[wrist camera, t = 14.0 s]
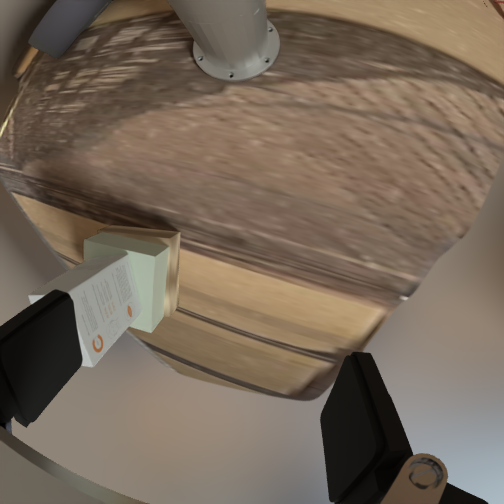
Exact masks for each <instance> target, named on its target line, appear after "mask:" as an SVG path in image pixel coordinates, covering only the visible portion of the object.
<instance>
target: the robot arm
mask: <svg viewBox="0 0 504 504" xmlns="http://www.w3.org/2000/svg"><path fill="white" fill-rule="evenodd" d="M167 1H168V3H169V4H170V6H171V7H172V8H173V10H174V11H175V12H176V14H177V16H178V17H179V18H180V20H181V21H182V23H183V24H184V26H185V27H186V28H187V30H188V31H189V33H190V34H191V36H192V37H193V39H194V43H193V55H194V58H195V60H196V63H197V64H198V65H199V67H200V68H201V69H202V70H203V71H204V72H205V73H206V74H208V75H209V76H211V77H213V78H215V79H218V80H222V81H229V82H237V81H244V80H249V79H252V78H254V77H257V76H259V75H260V74H262V73H264V72H265V71H266V70H267V69H268V68H270V67H271V65H272V64H273V63H274V61H275V60H276V58H277V56H278V53H279V48H280V40H279V35H278V32H277V30H276V28H275V27H274V26H273V24H272V23H271V22H270V21H268V20H267V12H266V0H167ZM269 31H272V32H269ZM201 59H203V60H202V61H200V60H201ZM266 61H269V63H266ZM230 76H233V77H232V78H230ZM82 361H83V357H82V352H81V347H80V342H79V336H78V330H77V323H76V316H75V309H74V302H73V299H71V296H70V294H69V293H67V292H63V291H61V290H58V289H55V290H53V291H51V292H49V293H48V294H46V295H45V296H43V297H42V298H40V299H39V300H37V301H36V302H34V303H33V304H31V305H30V306H29V307H27V308H26V309H24V310H23V311H21V312H20V313H18V314H17V315H16V316H14V317H13V318H11V319H10V320H9V321H7V322H6V323H4V324H3V325H2V326H0V504H148V503H145V502H141V501H139V500H136V499H133V498H131V497H128V496H125V495H123V494H120V493H117V492H115V491H113V490H110V489H108V488H105V487H103V486H101V485H99V484H96V483H94V482H92V481H90V480H88V479H85V478H84V477H82V476H80V475H77V474H76V473H73V472H71V471H70V470H68V469H66V468H64V467H62V466H61V465H59V464H57V463H55V462H54V461H52V460H50V459H48V458H47V457H45V456H43V455H42V454H40V453H39V452H37V451H35V450H34V449H32V448H31V447H29V446H28V445H26V444H25V443H23V442H22V441H20V440H19V439H17V438H16V437H15V436H13V435H12V426H11V419H12V418H13V416H14V418H15V420H16V421H17V422H19V423H20V424H22V425H23V426H25V427H26V428H27V426H28V425H29V424H30V423H31V422H34V421H35V420H36V419H37V418H38V417H39V415H40V414H41V413H42V412H43V410H44V409H45V408H46V407H47V405H48V404H49V403H50V402H51V401H52V400H53V398H54V397H55V396H56V395H57V394H58V392H59V391H60V390H61V389H62V388H63V386H64V385H65V384H66V383H67V382H68V381H69V379H70V378H71V377H72V376H73V375H74V373H75V372H76V371H77V370H78V369H79V368H80V366H81V365H82ZM320 418H321V419H320V422H321V430H322V438H323V446H324V455H325V464H326V472H327V483H328V492H329V500H330V502H334V503H335V504H488V503H487V502H486V501H485V500H483V499H481V498H478V497H476V496H474V495H472V494H470V493H468V492H465V491H463V490H461V489H459V488H457V487H455V486H453V485H451V484H449V483H447V479H448V473H447V469H446V467H445V465H444V464H443V463H442V461H441V460H440V459H438V458H436V457H435V456H433V455H430V454H423V453H421V454H416V455H413V452H412V449H411V447H410V444H409V441H408V439H407V436H406V433H405V431H404V428H403V426H402V423H401V421H400V418H399V416H398V413H397V411H396V408H395V406H394V403H393V401H392V398H391V397H390V395H389V394H388V391H387V389H386V387H385V384H384V382H383V379H382V377H381V375H380V373H379V370H378V368H377V366H376V363H375V361H374V359H373V357H372V355H371V353H364V352H353V353H352V354H351V356H346V357H345V359H344V362H343V364H342V367H341V369H340V371H339V374H338V376H337V379H336V381H335V383H334V386H333V388H332V390H331V393H330V395H329V397H328V399H327V401H326V404H325V406H324V408H323V410H322V413H321V417H320Z"/></svg>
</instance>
